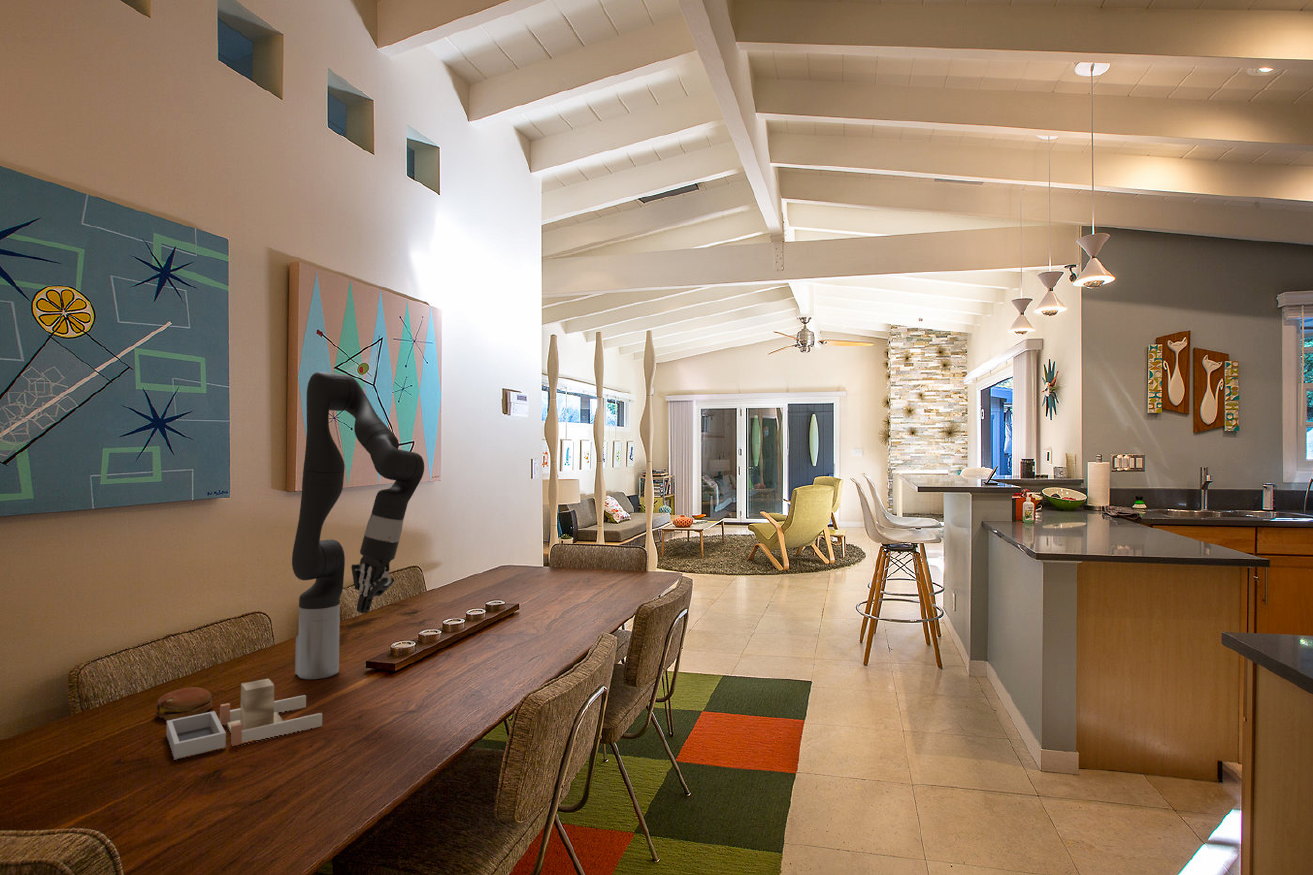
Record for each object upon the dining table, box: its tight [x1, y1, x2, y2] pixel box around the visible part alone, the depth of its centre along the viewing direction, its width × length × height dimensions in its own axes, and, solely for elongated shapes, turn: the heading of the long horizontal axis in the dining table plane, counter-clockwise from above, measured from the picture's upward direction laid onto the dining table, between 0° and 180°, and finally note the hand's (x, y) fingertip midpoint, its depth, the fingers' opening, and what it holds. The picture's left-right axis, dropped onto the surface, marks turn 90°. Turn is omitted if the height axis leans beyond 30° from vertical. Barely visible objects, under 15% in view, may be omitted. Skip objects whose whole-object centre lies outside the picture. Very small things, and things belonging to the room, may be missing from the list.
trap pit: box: [166, 710, 227, 761], centre depth 134 cm, size 8×14×3 cm, turn 40°
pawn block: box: [226, 678, 284, 734], centre depth 141 cm, size 9×9×9 cm
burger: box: [155, 686, 213, 722], centre depth 149 cm, size 10×9×5 cm
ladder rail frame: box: [219, 694, 323, 746], centre depth 142 cm, size 16×14×4 cm
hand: (362, 612), depth 155 cm, fingers closed
